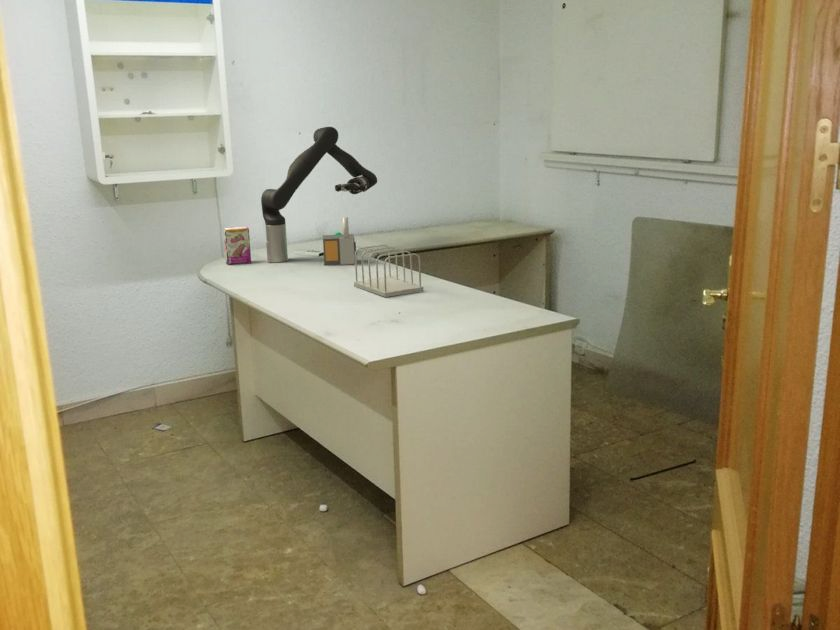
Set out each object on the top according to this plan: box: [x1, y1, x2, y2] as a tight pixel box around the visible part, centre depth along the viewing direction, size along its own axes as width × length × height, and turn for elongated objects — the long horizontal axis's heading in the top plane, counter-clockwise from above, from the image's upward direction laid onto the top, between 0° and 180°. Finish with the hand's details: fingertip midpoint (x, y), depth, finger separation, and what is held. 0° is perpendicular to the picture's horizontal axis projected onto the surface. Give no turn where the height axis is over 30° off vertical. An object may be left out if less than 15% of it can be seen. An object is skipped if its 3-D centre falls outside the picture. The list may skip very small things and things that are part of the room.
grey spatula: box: [339, 216, 355, 265], centre depth 368 cm, size 6×2×21 cm, turn 97°
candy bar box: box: [222, 226, 252, 266], centre depth 378 cm, size 11×5×16 cm, turn 113°
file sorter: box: [353, 244, 424, 298], centre depth 321 cm, size 25×17×16 cm
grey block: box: [322, 233, 357, 266], centre depth 374 cm, size 15×10×12 cm
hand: (346, 189), depth 378 cm, fingers open, 8 cm apart
